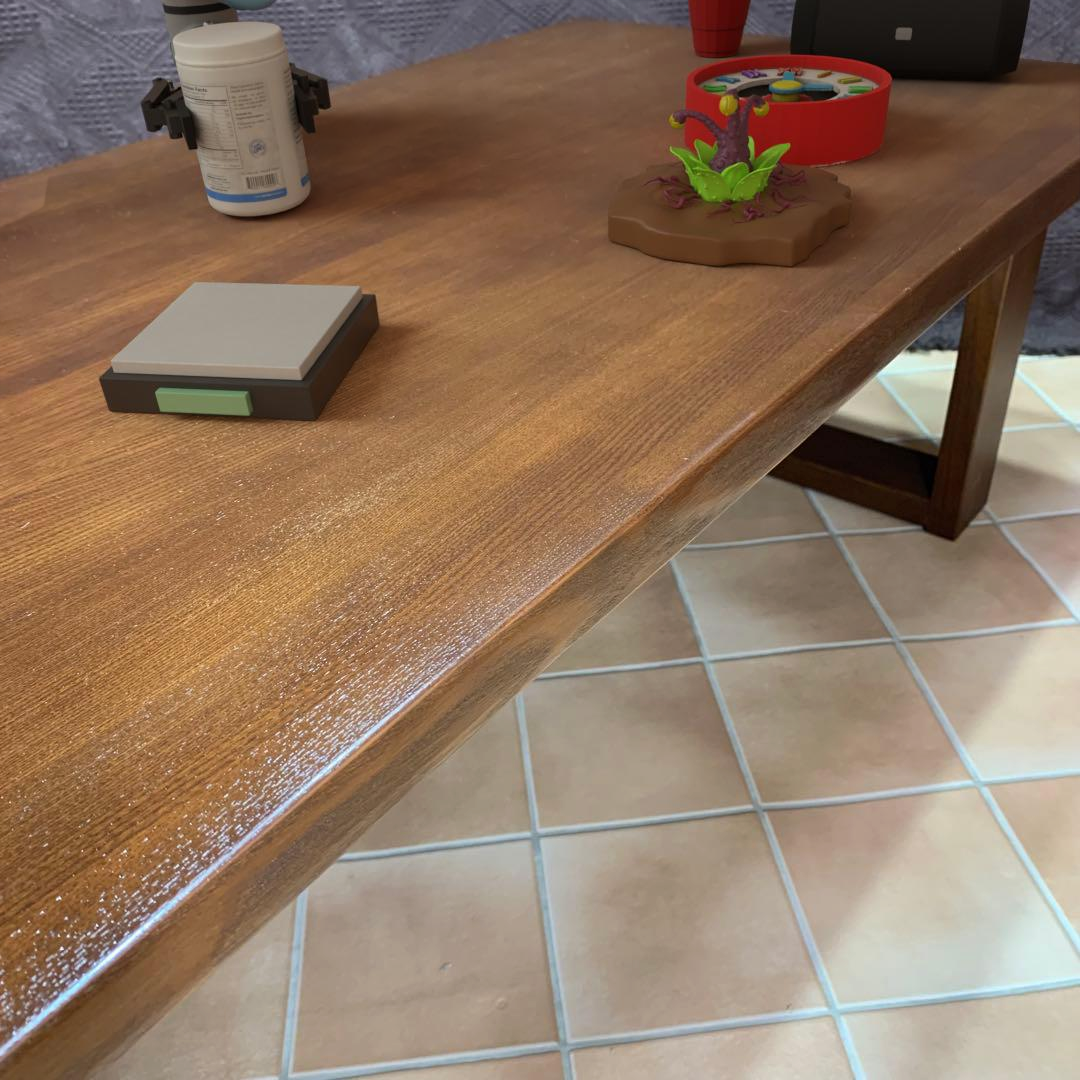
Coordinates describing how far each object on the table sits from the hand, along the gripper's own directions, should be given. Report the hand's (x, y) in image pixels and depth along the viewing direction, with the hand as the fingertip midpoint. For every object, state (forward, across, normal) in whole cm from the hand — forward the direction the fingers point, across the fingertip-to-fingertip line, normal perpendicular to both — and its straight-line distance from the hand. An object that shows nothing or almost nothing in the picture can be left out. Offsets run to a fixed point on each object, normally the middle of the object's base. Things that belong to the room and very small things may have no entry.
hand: (250, 125), depth 93 cm
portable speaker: (-15, +78, +8) cm, 80 cm away
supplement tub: (-4, 0, +8) cm, 9 cm away
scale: (+29, -6, +8) cm, 31 cm away
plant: (+20, +36, +8) cm, 42 cm away
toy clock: (0, +53, +8) cm, 53 cm away
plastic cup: (-37, +65, +8) cm, 76 cm away
